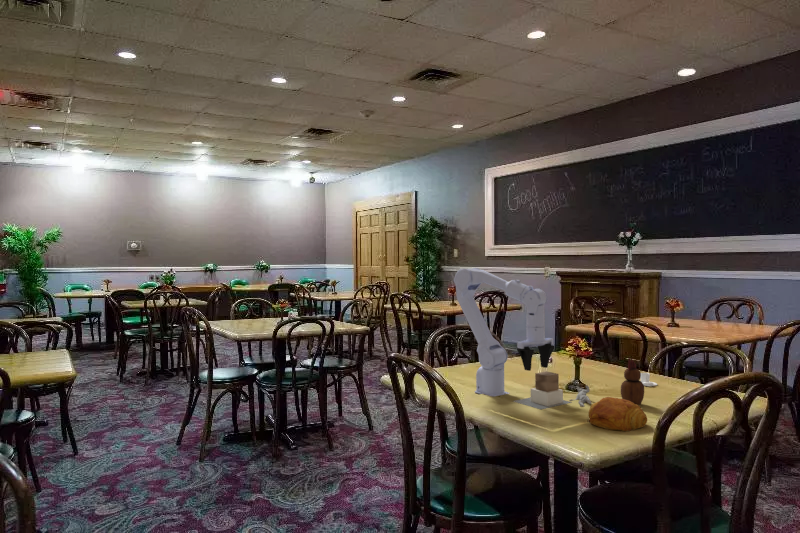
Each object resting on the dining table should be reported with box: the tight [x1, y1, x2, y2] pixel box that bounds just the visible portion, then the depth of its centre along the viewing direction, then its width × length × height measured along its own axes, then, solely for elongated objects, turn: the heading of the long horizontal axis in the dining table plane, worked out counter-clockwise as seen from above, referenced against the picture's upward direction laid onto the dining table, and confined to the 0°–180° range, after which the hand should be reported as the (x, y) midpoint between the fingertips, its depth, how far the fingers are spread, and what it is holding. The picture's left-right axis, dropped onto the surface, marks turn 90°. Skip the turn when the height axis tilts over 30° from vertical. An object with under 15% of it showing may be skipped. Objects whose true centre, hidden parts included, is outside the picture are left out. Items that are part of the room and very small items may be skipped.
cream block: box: [530, 387, 564, 406], centre depth 179 cm, size 7×7×4 cm
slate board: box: [512, 396, 573, 411], centre depth 179 cm, size 12×14×1 cm
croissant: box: [588, 396, 648, 432], centre depth 157 cm, size 14×16×8 cm
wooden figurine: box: [620, 356, 645, 406], centre depth 177 cm, size 7×6×15 cm
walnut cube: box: [534, 370, 560, 392], centre depth 179 cm, size 5×5×5 cm
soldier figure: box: [569, 385, 592, 407], centre depth 179 cm, size 8×5×12 cm
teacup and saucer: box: [640, 372, 659, 387], centre depth 204 cm, size 9×8×4 cm
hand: (536, 368), depth 182 cm, fingers open, 7 cm apart
